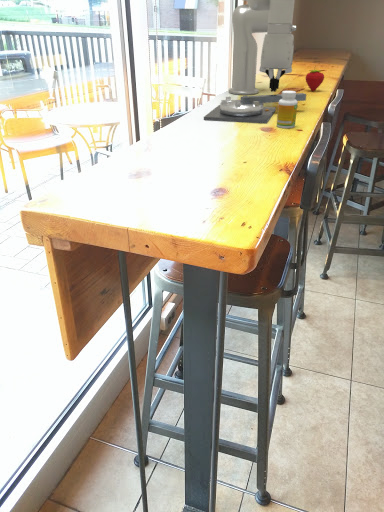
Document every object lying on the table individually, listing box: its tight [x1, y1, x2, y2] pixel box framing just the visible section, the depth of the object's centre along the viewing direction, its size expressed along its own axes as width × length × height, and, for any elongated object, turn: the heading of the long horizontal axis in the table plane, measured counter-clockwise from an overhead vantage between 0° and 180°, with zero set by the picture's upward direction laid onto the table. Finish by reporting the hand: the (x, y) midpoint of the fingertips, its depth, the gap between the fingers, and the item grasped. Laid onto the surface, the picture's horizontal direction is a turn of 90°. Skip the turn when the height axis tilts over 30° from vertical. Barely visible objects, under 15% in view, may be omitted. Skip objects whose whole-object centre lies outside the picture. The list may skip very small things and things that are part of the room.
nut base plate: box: [203, 104, 277, 124], centre depth 135 cm, size 20×20×1 cm
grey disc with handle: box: [219, 92, 307, 116], centre depth 135 cm, size 29×14×4 cm, turn 103°
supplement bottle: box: [276, 90, 299, 129], centre depth 119 cm, size 5×5×10 cm
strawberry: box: [305, 65, 325, 92], centre depth 170 cm, size 6×8×10 cm
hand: (273, 90), depth 140 cm, fingers closed
